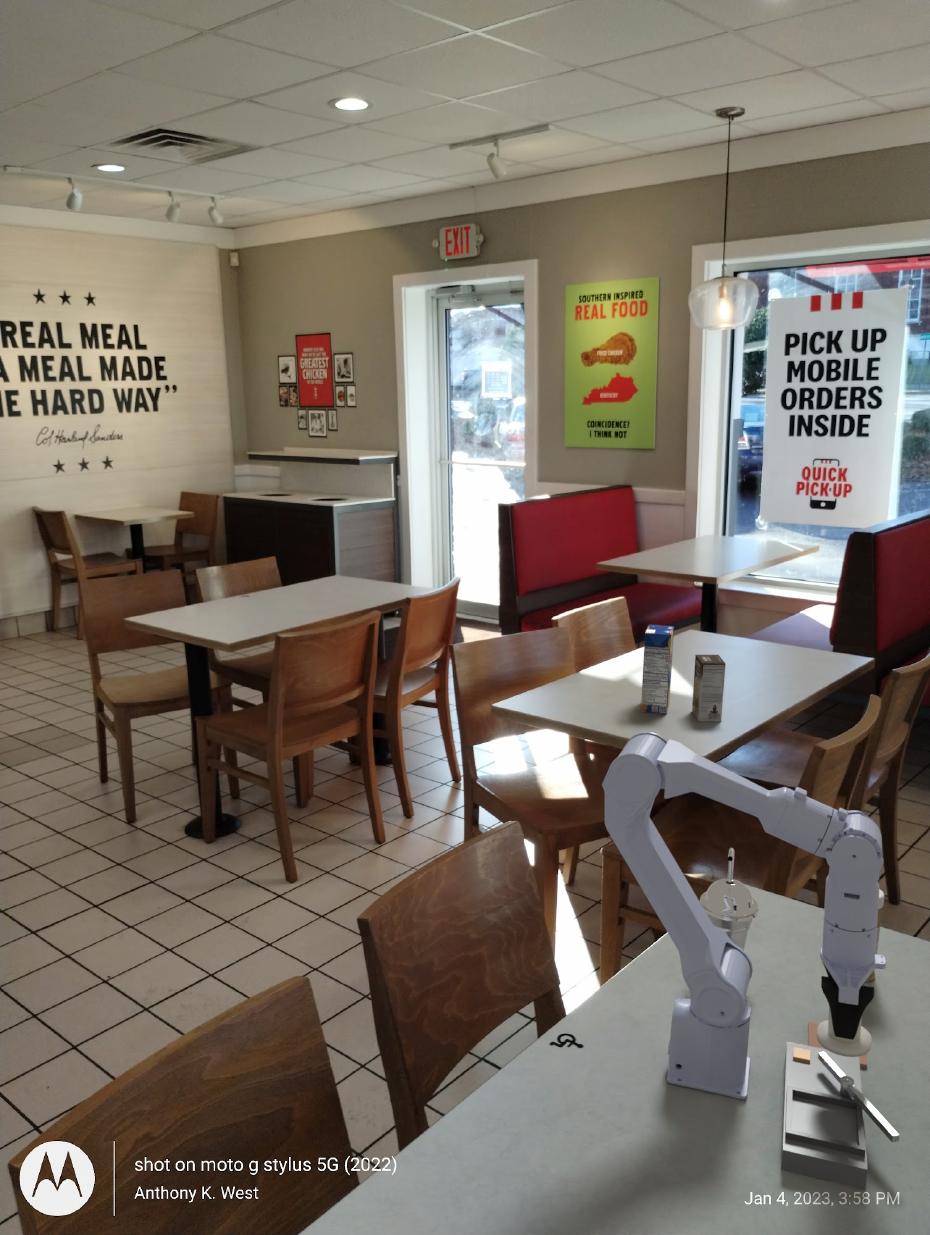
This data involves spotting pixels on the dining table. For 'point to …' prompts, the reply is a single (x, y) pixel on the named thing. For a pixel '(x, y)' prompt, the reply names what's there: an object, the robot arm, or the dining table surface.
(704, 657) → the coffee box
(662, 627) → the beverage box
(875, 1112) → the clip
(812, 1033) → the mat
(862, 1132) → the power strip
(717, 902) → the cup with straw
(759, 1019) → the dining table surface
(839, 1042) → the plug
